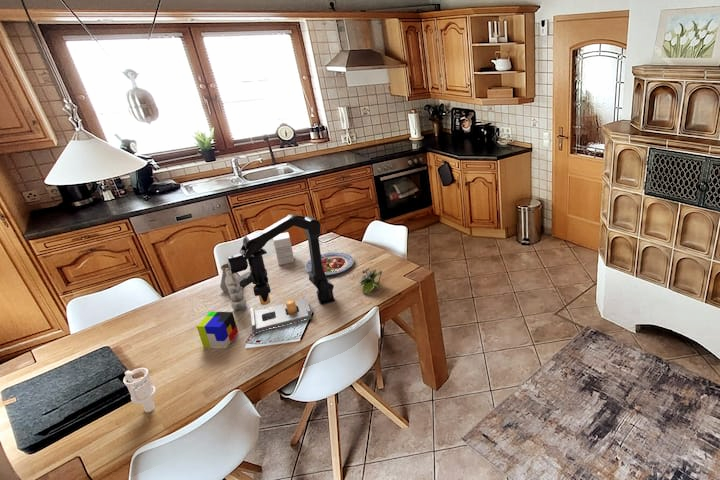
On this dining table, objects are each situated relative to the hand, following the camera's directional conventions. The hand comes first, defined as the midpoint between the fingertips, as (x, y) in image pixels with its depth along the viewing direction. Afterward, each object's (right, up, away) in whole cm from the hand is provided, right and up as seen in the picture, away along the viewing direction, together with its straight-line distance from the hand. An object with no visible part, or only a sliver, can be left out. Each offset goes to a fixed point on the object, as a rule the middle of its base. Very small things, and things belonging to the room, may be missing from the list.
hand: (264, 299), depth 165 cm
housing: (+6, -9, +5) cm, 12 cm away
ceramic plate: (+24, +10, +45) cm, 52 cm away
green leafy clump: (+45, +2, +20) cm, 49 cm away
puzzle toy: (-17, -16, -5) cm, 23 cm away
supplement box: (-2, +13, +57) cm, 59 cm away
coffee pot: (-21, +2, +37) cm, 43 cm away
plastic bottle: (-15, -7, +16) cm, 23 cm away
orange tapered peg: (+10, -8, +6) cm, 14 cm away
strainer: (-29, -31, -36) cm, 55 cm away
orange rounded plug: (0, -1, +1) cm, 2 cm away
